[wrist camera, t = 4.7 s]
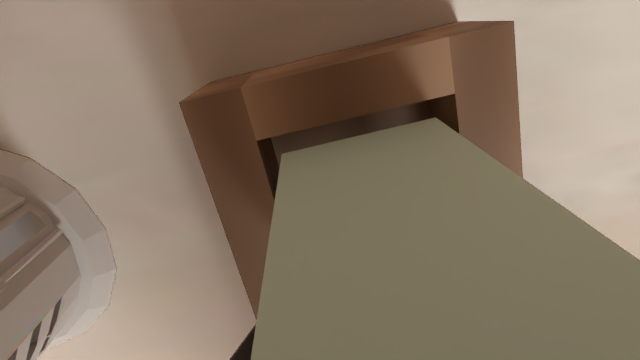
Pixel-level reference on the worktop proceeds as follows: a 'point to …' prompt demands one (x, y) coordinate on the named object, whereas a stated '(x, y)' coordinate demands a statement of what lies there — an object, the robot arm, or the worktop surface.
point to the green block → (435, 260)
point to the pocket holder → (347, 116)
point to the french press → (47, 260)
